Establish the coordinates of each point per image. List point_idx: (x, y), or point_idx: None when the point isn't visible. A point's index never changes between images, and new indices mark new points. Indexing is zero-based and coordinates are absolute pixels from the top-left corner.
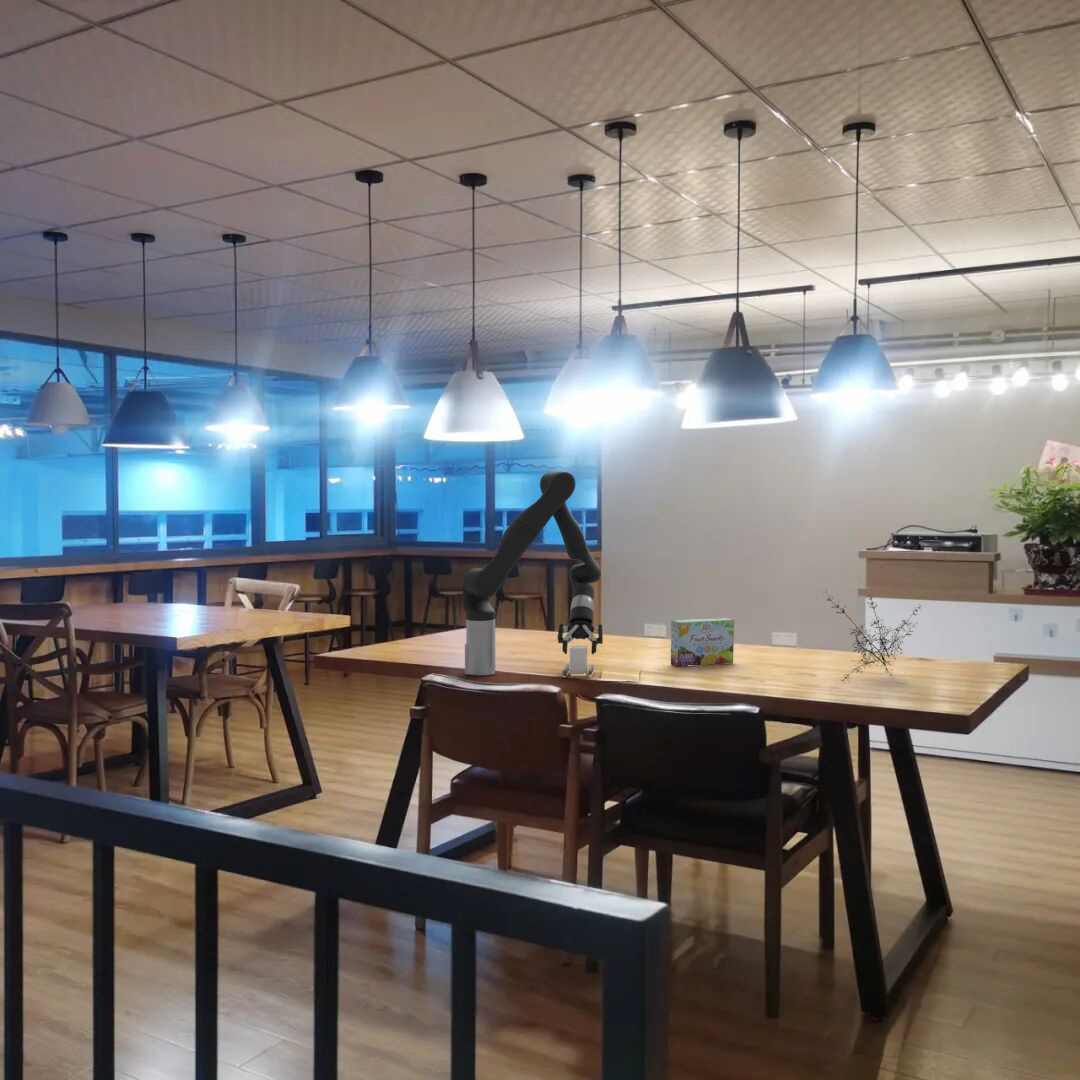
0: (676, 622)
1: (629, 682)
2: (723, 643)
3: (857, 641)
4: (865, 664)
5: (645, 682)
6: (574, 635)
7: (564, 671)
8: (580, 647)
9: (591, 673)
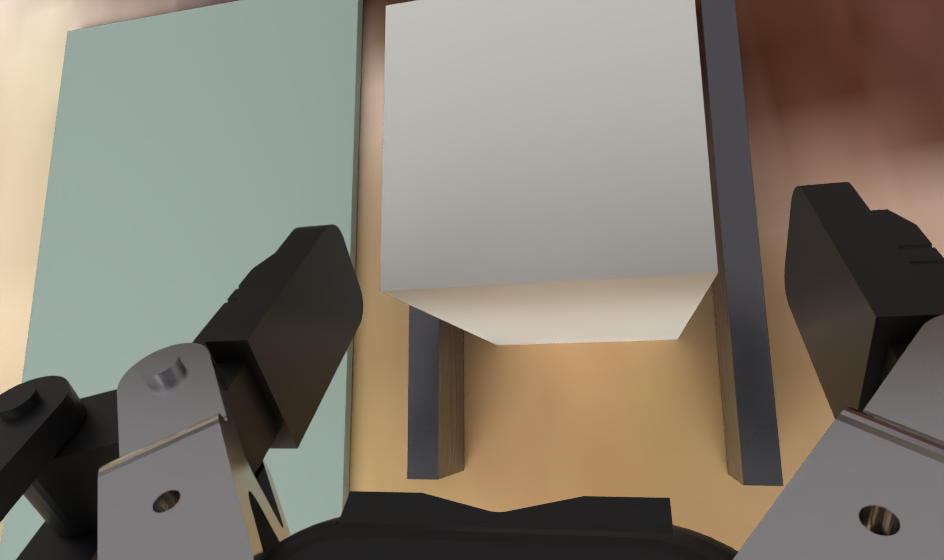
0: None
1: (138, 16)
2: None
3: None
4: None
5: (34, 47)
6: (702, 538)
7: (713, 3)
8: (490, 60)
9: None
